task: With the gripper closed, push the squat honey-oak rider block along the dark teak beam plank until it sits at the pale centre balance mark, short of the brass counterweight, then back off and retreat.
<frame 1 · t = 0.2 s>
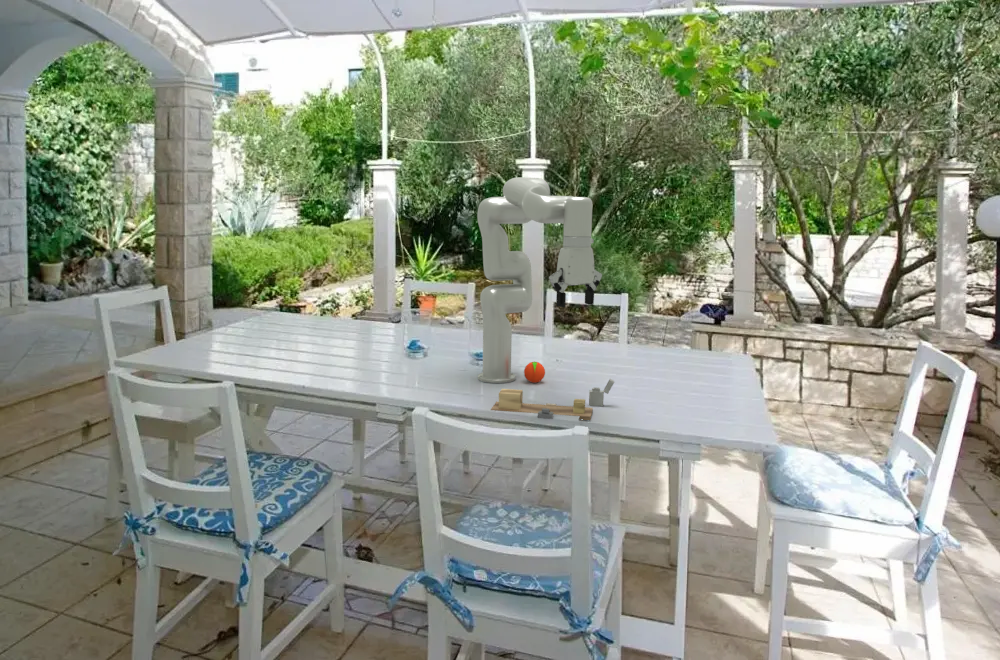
hand: (575, 305, 205), 31 cm above the table, tool pointing down, fingers open, 9 cm apart
beam: (541, 412, 210), on the table
lighter: (601, 406, 219), on the table
fulcrum marker: (545, 421, 203), on the table
clementine: (534, 383, 244), on the table
rider: (510, 406, 212), point 1 cm above the table, touching beam
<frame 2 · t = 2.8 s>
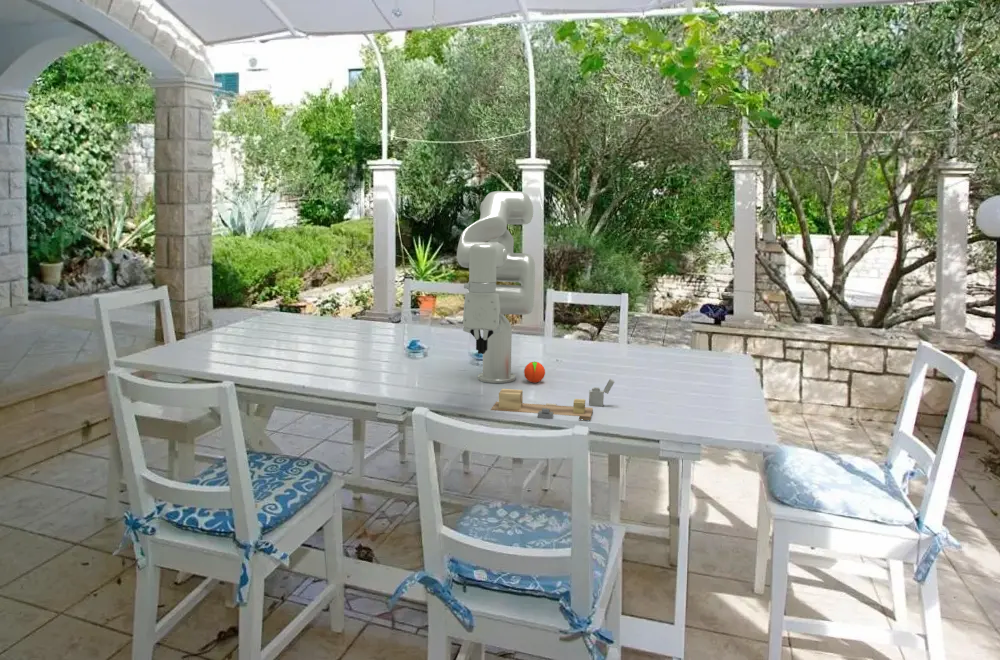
hand: (481, 352, 210), 17 cm above the table, tool pointing down, fingers closed
nothing on the table moved.
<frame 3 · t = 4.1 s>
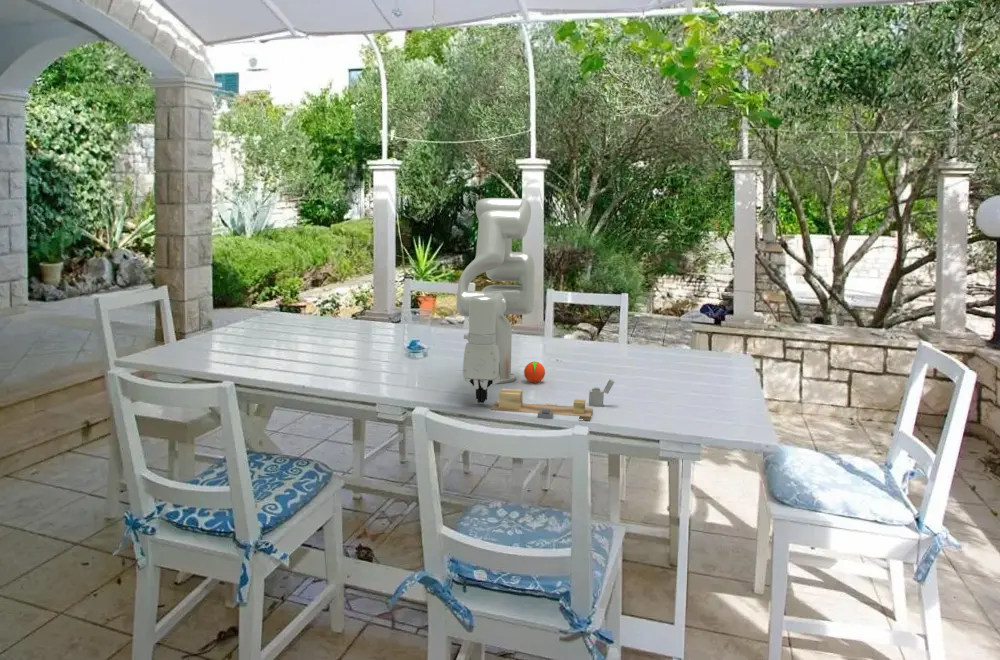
hand: (481, 401, 213), 2 cm above the table, tool pointing down, fingers closed
nothing on the table moved.
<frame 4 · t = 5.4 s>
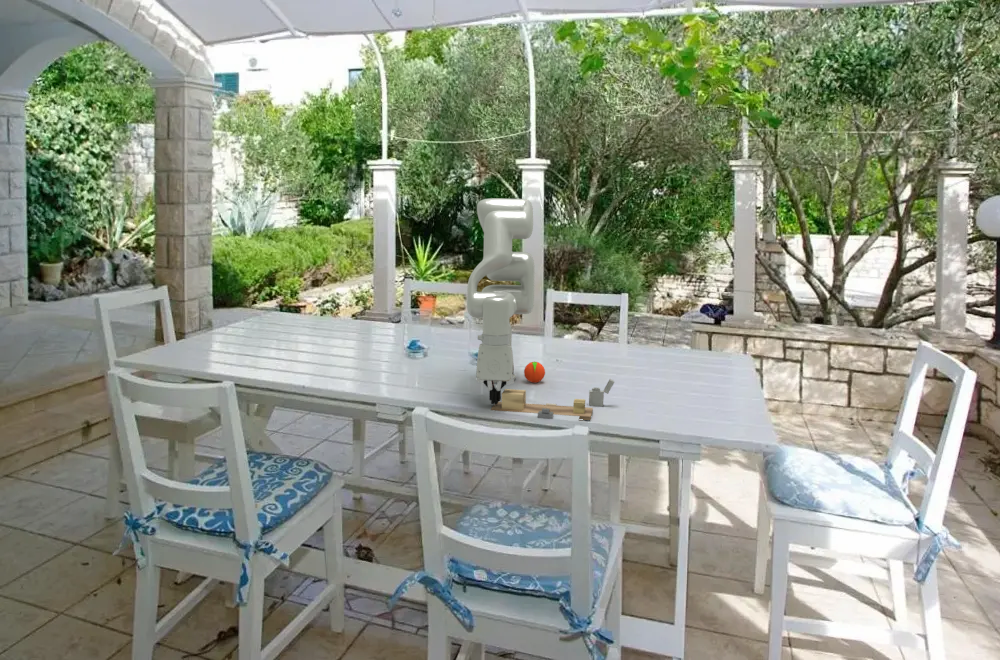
hand: (495, 402, 212), 2 cm above the table, tool pointing down, fingers closed
rider: (513, 407, 211), point 1 cm above the table, touching beam, gripper
everything else where it was.
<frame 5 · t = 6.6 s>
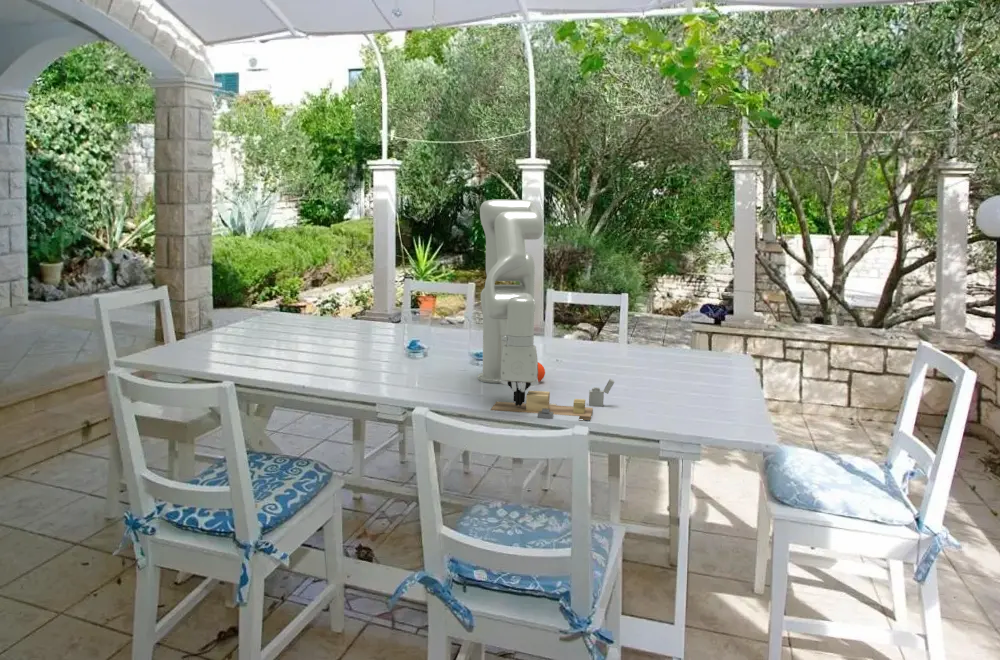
hand: (519, 404, 211), 2 cm above the table, tool pointing down, fingers closed
rider: (537, 408, 210), point 1 cm above the table, touching gripper
everything else where it was.
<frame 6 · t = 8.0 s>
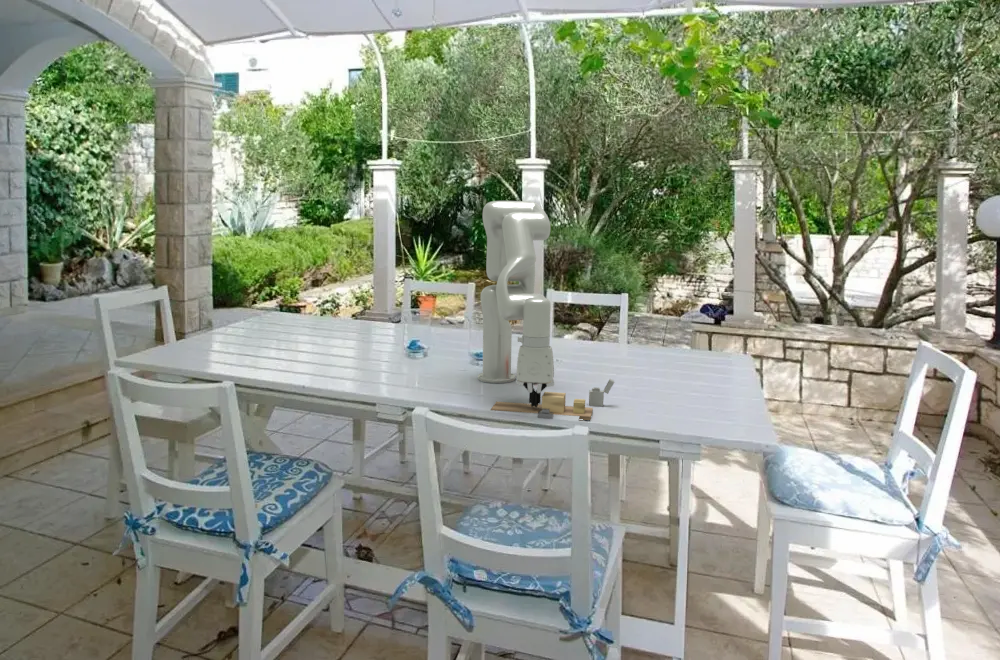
hand: (534, 405, 210), 2 cm above the table, tool pointing down, fingers closed
rider: (553, 410, 209), point 1 cm above the table, touching beam, gripper
everything else where it was.
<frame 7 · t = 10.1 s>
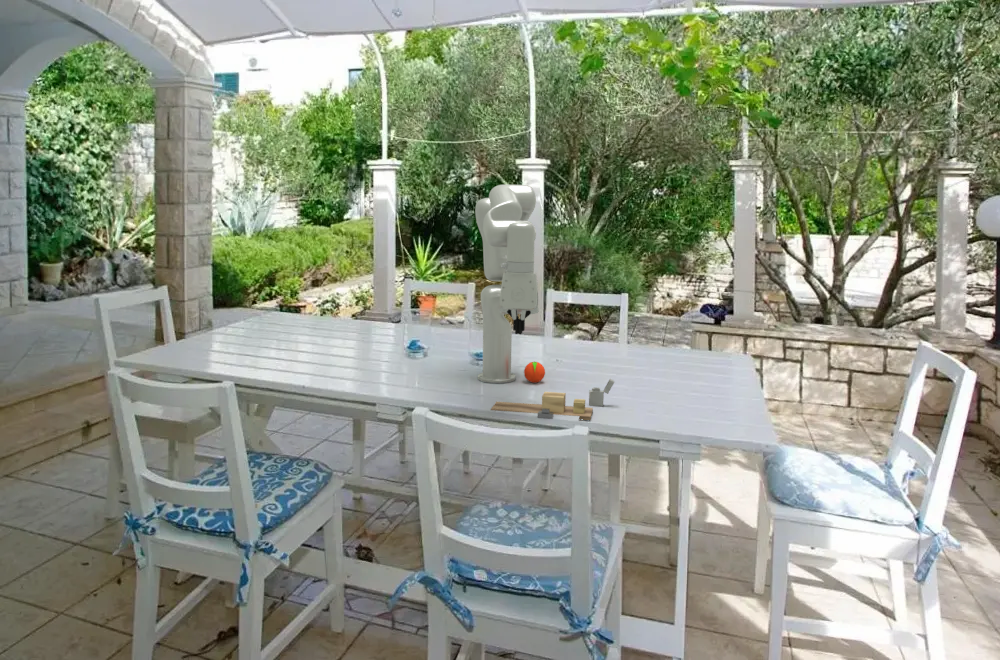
hand: (518, 333, 208), 23 cm above the table, tool pointing down, fingers closed
rider: (553, 410, 209), point 1 cm above the table, touching beam
everything else where it was.
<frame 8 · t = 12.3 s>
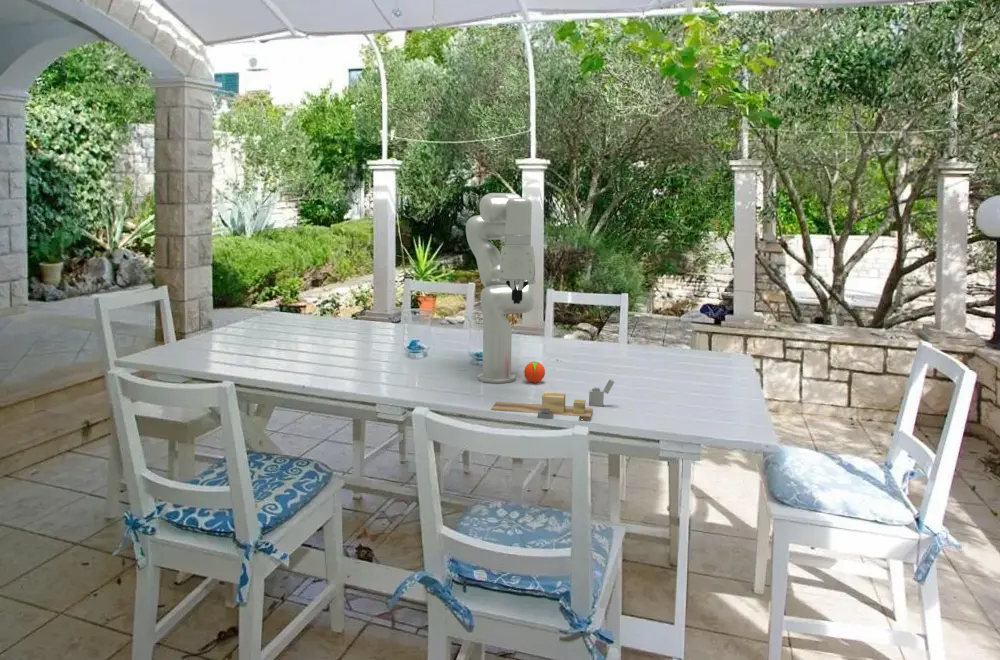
hand: (516, 303, 220), 29 cm above the table, tool pointing down, fingers closed
nothing on the table moved.
at the end: rider 0.9 cm from the target spot, point 1.2 cm above the table; rider tilted 0° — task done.
